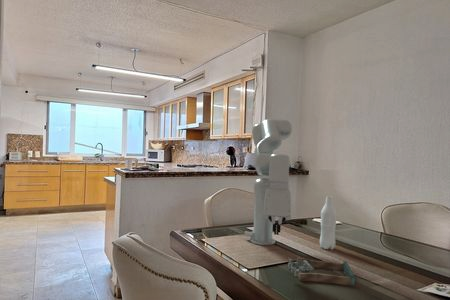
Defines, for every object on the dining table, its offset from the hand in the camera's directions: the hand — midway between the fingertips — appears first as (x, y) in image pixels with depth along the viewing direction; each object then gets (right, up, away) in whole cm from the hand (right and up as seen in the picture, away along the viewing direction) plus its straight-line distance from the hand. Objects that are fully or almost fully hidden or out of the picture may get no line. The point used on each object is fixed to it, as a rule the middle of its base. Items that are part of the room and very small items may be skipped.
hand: (276, 233), depth 116 cm
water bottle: (+29, -15, +29) cm, 44 cm away
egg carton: (+9, -15, -1) cm, 17 cm away
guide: (+17, -14, -3) cm, 22 cm away
